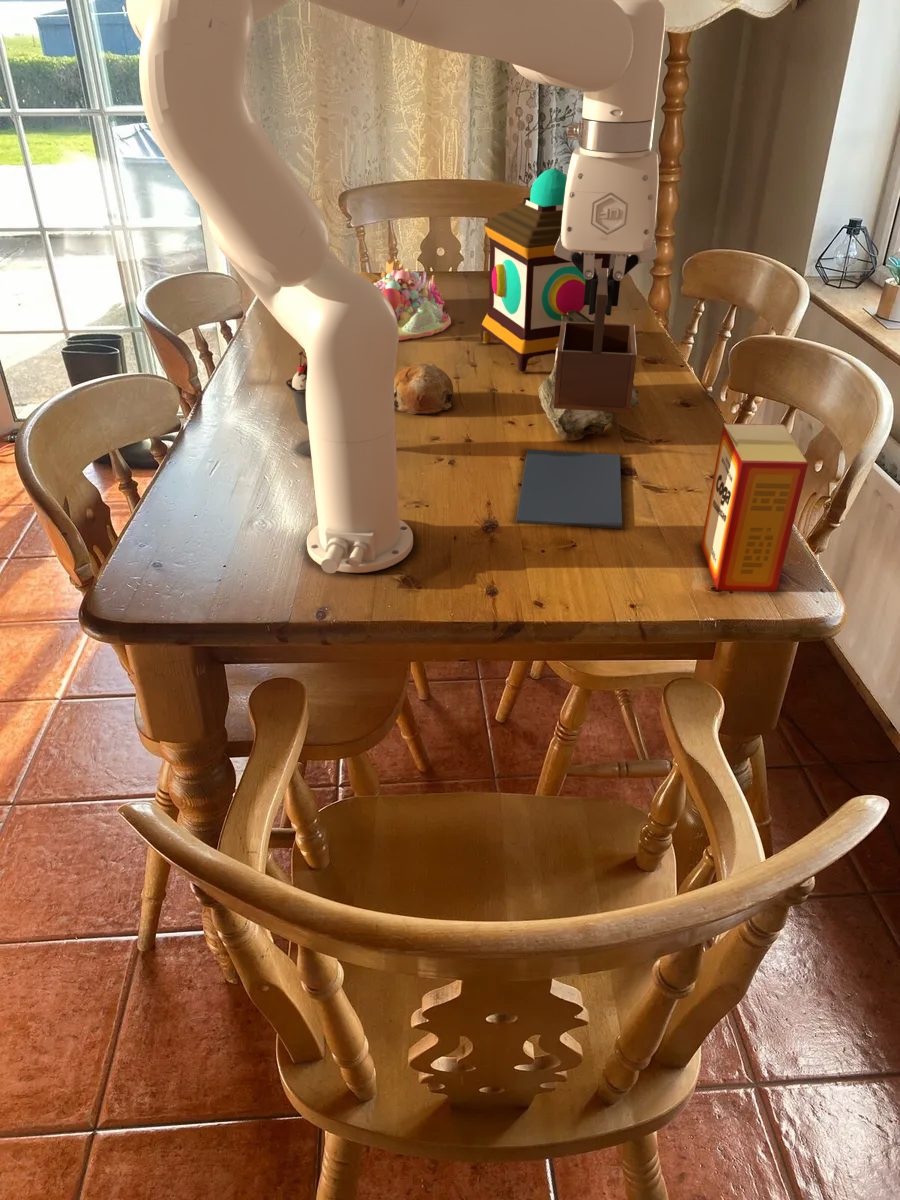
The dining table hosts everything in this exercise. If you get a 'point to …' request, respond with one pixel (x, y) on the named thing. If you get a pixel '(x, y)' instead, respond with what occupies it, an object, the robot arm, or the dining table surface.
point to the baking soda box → (752, 506)
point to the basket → (595, 361)
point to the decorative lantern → (532, 273)
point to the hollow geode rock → (569, 420)
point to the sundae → (300, 398)
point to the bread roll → (422, 390)
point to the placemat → (571, 489)
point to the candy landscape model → (411, 300)
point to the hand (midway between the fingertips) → (599, 310)
